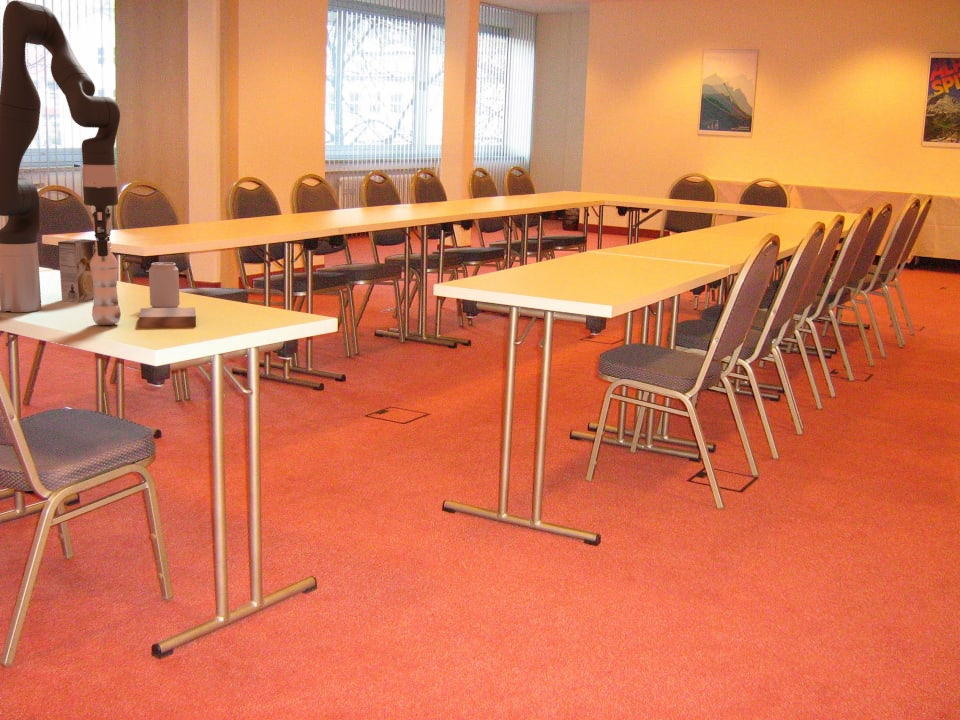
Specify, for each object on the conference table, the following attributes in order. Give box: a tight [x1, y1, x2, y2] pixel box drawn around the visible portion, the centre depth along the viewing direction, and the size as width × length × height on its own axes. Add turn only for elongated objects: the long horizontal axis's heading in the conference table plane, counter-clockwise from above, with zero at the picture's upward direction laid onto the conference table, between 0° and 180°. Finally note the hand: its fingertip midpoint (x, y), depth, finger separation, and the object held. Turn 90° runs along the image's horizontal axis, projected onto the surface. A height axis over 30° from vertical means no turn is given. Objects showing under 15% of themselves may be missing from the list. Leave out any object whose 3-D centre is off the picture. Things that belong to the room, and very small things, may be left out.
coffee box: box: [57, 238, 97, 303], centre depth 273 cm, size 9×6×16 cm
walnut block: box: [138, 307, 197, 328], centre depth 245 cm, size 13×13×2 cm
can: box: [148, 261, 181, 308], centre depth 264 cm, size 8×8×12 cm
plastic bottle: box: [90, 240, 121, 327], centre depth 237 cm, size 6×7×20 cm
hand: (104, 254), depth 236 cm, fingers open, 8 cm apart
